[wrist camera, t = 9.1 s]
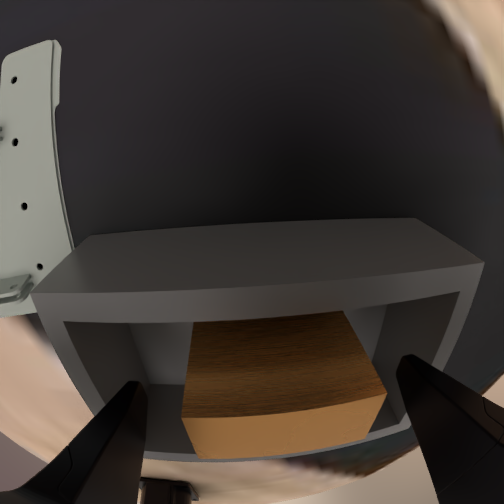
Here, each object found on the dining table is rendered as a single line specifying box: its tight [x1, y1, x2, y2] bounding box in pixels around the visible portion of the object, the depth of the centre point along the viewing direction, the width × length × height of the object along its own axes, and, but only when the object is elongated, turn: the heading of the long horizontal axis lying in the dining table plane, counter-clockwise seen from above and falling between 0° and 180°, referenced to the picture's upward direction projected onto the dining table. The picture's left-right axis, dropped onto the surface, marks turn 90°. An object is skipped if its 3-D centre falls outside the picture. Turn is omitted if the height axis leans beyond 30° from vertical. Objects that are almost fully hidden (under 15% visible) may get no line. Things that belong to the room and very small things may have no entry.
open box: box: [30, 218, 485, 462], centre depth 11 cm, size 10×15×5 cm, turn 92°
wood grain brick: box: [181, 310, 387, 459], centre depth 10 cm, size 6×5×7 cm
